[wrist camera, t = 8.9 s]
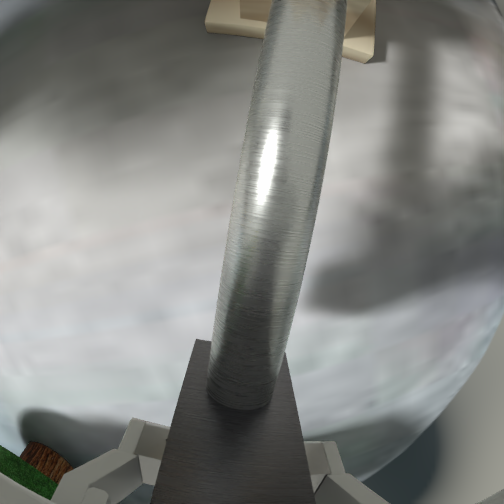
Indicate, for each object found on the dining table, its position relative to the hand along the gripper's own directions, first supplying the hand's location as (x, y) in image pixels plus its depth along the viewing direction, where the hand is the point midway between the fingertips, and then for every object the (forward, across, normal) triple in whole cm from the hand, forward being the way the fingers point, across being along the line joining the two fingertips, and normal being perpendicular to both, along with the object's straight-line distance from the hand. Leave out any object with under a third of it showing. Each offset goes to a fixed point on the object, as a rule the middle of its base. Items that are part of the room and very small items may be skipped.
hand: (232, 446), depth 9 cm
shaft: (+5, 0, -10) cm, 11 cm away
